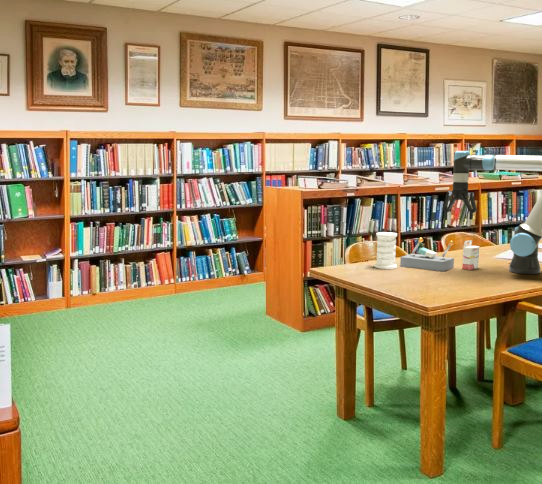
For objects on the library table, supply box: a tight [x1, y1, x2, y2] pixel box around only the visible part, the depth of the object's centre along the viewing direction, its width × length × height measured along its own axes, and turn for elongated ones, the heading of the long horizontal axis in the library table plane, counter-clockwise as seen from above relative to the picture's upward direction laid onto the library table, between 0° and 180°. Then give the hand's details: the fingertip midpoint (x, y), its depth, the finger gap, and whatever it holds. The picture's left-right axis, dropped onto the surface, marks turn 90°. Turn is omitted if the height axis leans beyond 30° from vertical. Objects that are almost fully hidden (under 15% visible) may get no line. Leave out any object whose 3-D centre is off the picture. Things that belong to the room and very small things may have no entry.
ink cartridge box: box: [462, 239, 480, 271], centre depth 337 cm, size 9×5×15 cm, turn 134°
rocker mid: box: [417, 247, 438, 258], centre depth 342 cm, size 8×5×2 cm, turn 54°
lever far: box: [411, 237, 424, 254], centre depth 345 cm, size 3×3×10 cm
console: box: [399, 253, 455, 272], centre depth 342 cm, size 24×14×6 cm, turn 53°
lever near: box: [441, 240, 455, 257], centre depth 334 cm, size 3×3×10 cm
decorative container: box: [374, 231, 398, 270], centre depth 341 cm, size 12×12×18 cm
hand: (458, 225), depth 329 cm, fingers open, 10 cm apart
